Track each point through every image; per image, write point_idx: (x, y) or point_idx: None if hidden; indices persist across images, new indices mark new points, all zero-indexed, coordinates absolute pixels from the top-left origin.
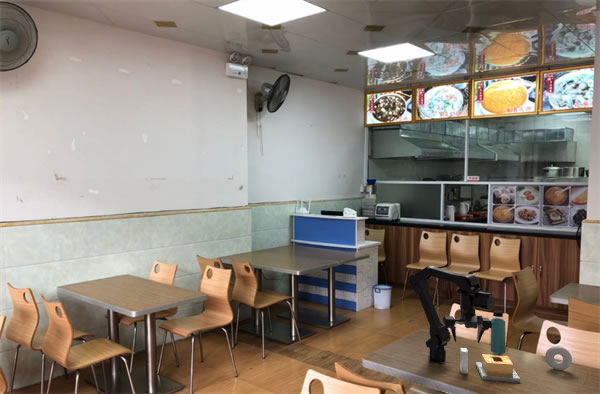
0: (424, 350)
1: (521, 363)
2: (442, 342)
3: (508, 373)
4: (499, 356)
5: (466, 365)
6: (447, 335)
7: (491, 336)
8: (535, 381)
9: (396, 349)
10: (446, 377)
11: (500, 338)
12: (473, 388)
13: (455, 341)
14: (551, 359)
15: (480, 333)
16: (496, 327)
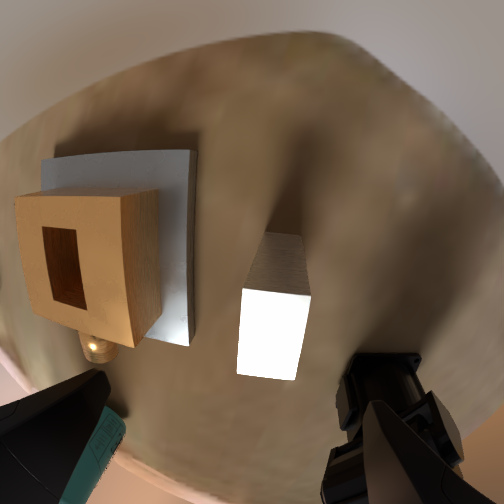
0: None
1: (47, 340)
2: (413, 430)
3: (62, 189)
4: (56, 309)
5: (268, 245)
6: (355, 493)
7: (98, 462)
8: (18, 185)
9: (462, 426)
10: (406, 164)
11: None
12: (281, 32)
13: (379, 403)
14: None
15: (6, 423)
16: None
